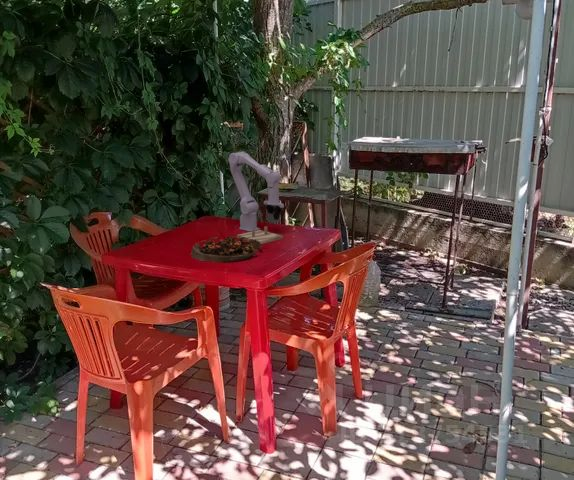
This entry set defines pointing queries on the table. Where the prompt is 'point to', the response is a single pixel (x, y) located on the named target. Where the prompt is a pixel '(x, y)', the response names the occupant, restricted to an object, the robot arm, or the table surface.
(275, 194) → the robot arm
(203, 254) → the food dish
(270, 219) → the jaw block
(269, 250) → the table surface
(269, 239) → the base plate
